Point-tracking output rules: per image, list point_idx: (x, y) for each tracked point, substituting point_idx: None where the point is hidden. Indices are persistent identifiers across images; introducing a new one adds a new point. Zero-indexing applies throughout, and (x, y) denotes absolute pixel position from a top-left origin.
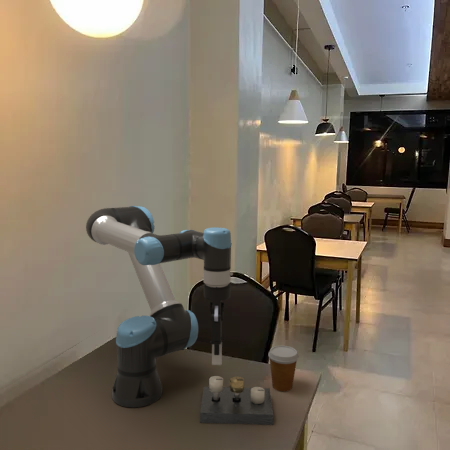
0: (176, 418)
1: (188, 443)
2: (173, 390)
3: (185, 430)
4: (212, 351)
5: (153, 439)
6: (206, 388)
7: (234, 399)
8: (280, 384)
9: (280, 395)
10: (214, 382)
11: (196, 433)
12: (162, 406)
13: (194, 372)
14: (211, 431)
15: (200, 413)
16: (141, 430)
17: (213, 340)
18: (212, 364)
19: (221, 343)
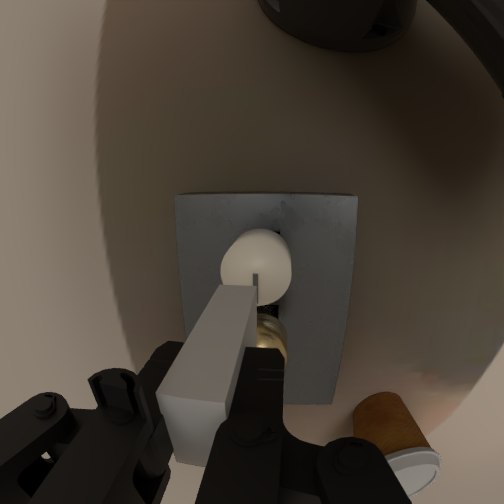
0: (205, 115)
1: (103, 175)
2: (377, 86)
3: (149, 155)
4: (189, 339)
5: (114, 85)
6: (344, 206)
7: (257, 312)
8: (357, 421)
9: (337, 406)
10: (223, 266)
11: (139, 188)
12: (272, 61)
13: (485, 162)
14: (151, 230)
15: (174, 196)
16: (149, 44)
17: (13, 428)
18: (220, 288)
19: (178, 459)
